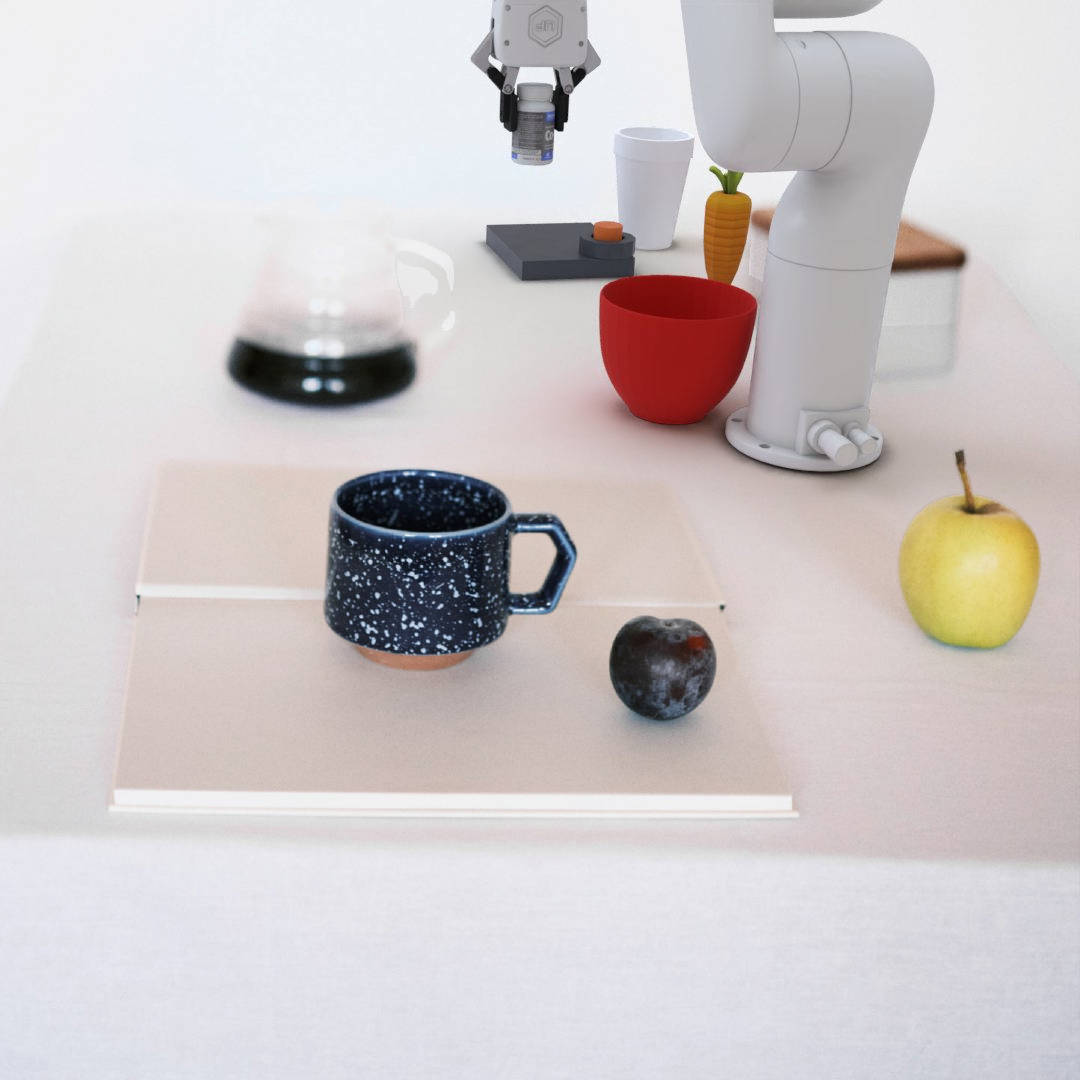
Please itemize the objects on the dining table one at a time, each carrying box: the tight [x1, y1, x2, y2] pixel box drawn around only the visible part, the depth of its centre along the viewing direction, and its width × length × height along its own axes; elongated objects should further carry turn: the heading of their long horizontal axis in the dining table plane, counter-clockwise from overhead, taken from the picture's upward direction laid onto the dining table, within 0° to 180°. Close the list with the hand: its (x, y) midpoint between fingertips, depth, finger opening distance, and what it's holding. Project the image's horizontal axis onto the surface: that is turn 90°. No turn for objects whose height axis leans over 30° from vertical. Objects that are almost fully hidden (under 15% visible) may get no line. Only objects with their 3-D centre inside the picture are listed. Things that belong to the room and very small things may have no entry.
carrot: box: [702, 165, 753, 285], centre depth 144 cm, size 5×5×15 cm
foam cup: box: [613, 125, 696, 251], centre depth 164 cm, size 10×9×13 cm
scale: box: [485, 221, 636, 282], centre depth 158 cm, size 16×14×4 cm
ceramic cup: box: [598, 274, 758, 425], centre depth 117 cm, size 13×17×10 cm
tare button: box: [593, 220, 623, 241], centre depth 153 cm, size 3×3×2 cm
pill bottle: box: [510, 81, 555, 167], centre depth 153 cm, size 5×5×8 cm
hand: (533, 127), depth 153 cm, fingers closed on pill bottle, 4 cm apart
